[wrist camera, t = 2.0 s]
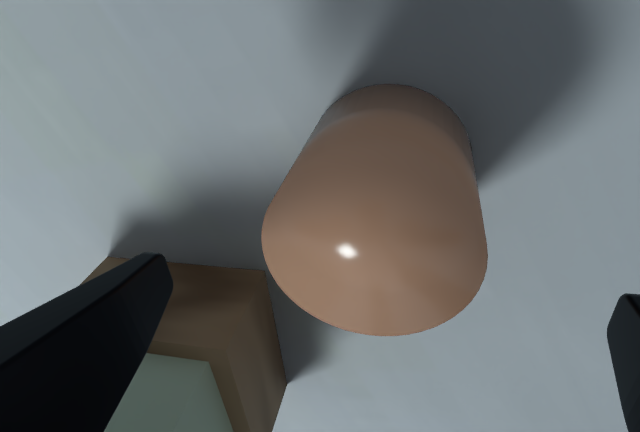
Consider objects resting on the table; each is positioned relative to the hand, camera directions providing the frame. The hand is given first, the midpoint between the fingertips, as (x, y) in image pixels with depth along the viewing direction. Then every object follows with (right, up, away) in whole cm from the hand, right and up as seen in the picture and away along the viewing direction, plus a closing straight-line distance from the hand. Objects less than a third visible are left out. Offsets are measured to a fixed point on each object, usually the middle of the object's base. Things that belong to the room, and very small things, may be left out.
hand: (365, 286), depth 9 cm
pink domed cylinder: (+1, +3, +4) cm, 5 cm away
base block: (-6, -3, +11) cm, 13 cm away
